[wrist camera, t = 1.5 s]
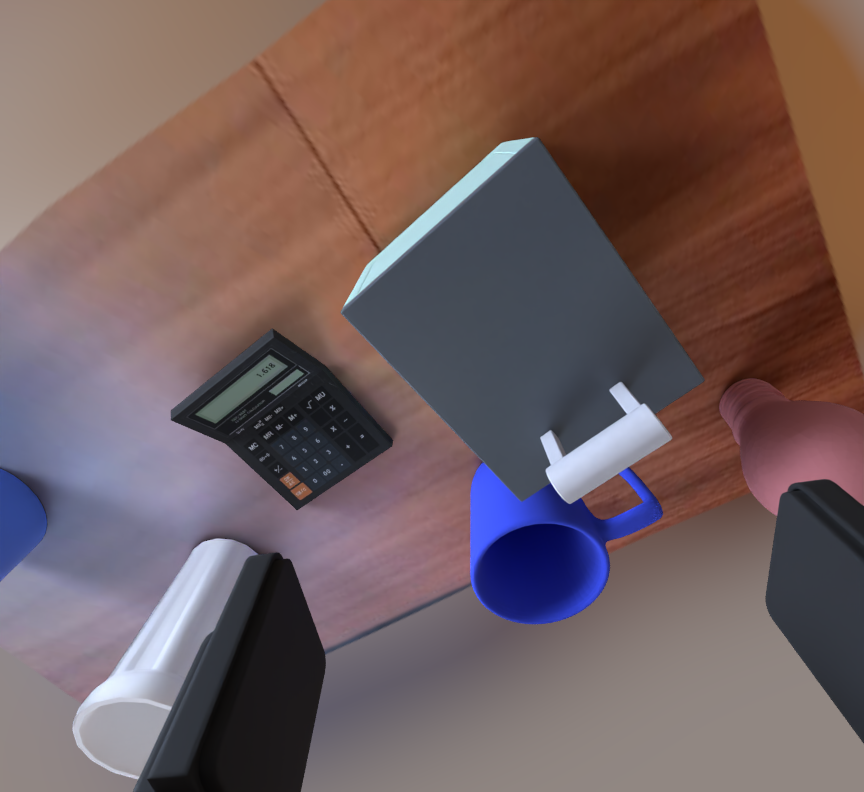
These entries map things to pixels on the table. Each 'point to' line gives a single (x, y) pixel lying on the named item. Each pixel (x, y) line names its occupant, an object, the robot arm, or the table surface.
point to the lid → (529, 334)
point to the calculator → (285, 419)
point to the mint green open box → (438, 212)
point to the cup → (158, 661)
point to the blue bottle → (18, 522)
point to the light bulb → (793, 441)
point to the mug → (544, 548)
